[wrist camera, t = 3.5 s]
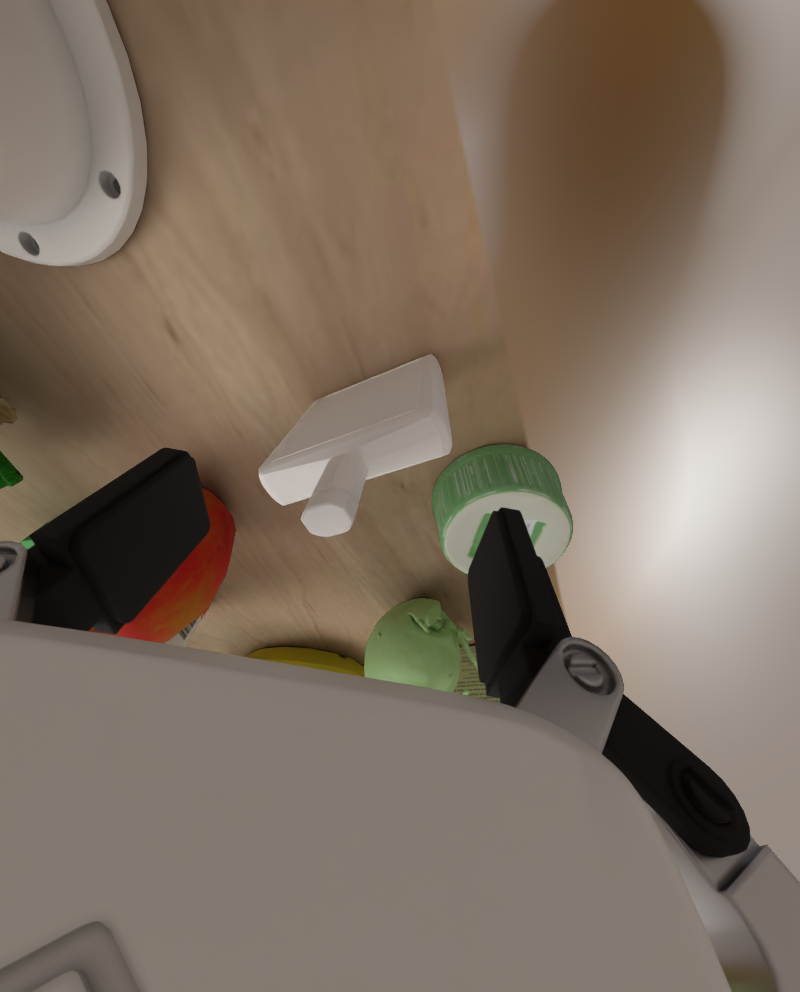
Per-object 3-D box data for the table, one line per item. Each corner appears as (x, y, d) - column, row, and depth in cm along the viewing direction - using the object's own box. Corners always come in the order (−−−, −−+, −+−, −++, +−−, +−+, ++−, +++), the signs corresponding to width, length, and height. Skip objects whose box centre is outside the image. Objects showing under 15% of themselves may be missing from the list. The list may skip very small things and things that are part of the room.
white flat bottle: (435, 350, 18) (444, 453, 8) (445, 384, 19) (465, 511, 9) (311, 400, 20) (201, 529, 10) (327, 428, 21) (241, 569, 11)
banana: (195, 687, 36) (275, 718, 45) (333, 685, 30) (390, 721, 40) (215, 644, 39) (286, 682, 49) (343, 636, 34) (393, 680, 43)
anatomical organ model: (497, 625, 32) (524, 763, 23) (393, 640, 35) (382, 767, 26) (469, 541, 26) (490, 685, 17) (345, 567, 29) (308, 703, 20)
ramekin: (463, 461, 17) (456, 427, 20) (415, 572, 22) (416, 529, 26) (618, 503, 18) (586, 463, 21) (537, 600, 23) (522, 555, 26)
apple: (220, 560, 29) (118, 706, 20) (122, 495, 26) (-64, 636, 16) (284, 513, 26) (195, 666, 16) (179, 428, 22) (-20, 561, 12)
